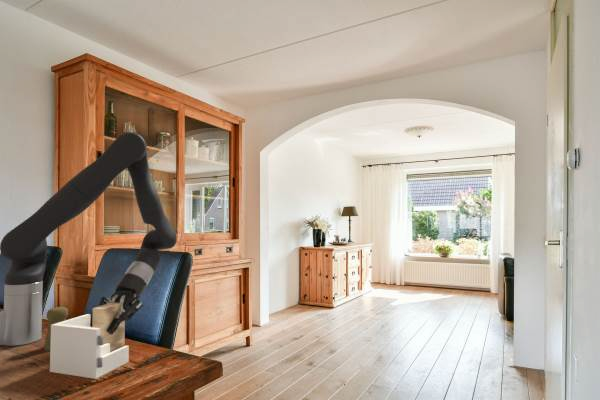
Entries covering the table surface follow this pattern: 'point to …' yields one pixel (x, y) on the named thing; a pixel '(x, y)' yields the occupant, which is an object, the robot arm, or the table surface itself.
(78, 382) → the table surface
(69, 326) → the white open box
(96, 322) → the block
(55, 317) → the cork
